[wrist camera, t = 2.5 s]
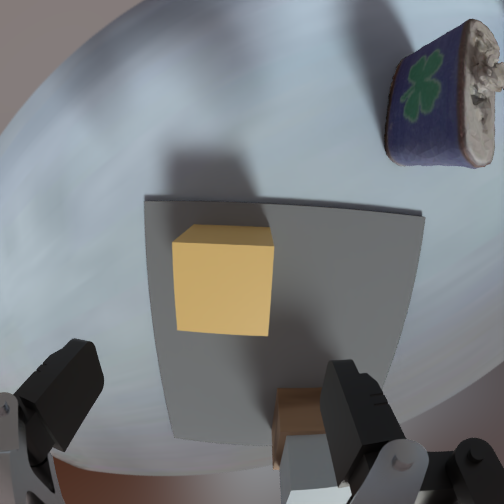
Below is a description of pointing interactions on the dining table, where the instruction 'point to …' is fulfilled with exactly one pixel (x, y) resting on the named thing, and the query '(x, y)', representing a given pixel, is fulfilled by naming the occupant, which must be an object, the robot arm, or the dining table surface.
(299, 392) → the tower base
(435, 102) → the flask
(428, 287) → the dining table surface
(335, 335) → the slate mat
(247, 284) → the ochre block
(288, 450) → the tower mid
